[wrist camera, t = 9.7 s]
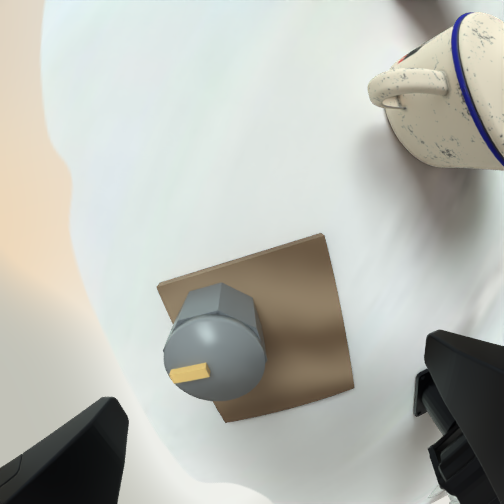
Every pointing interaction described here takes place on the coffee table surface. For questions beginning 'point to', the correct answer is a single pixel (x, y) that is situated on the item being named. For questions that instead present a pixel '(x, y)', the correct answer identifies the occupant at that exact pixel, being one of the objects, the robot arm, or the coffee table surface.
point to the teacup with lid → (450, 96)
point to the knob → (216, 344)
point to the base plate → (283, 324)
